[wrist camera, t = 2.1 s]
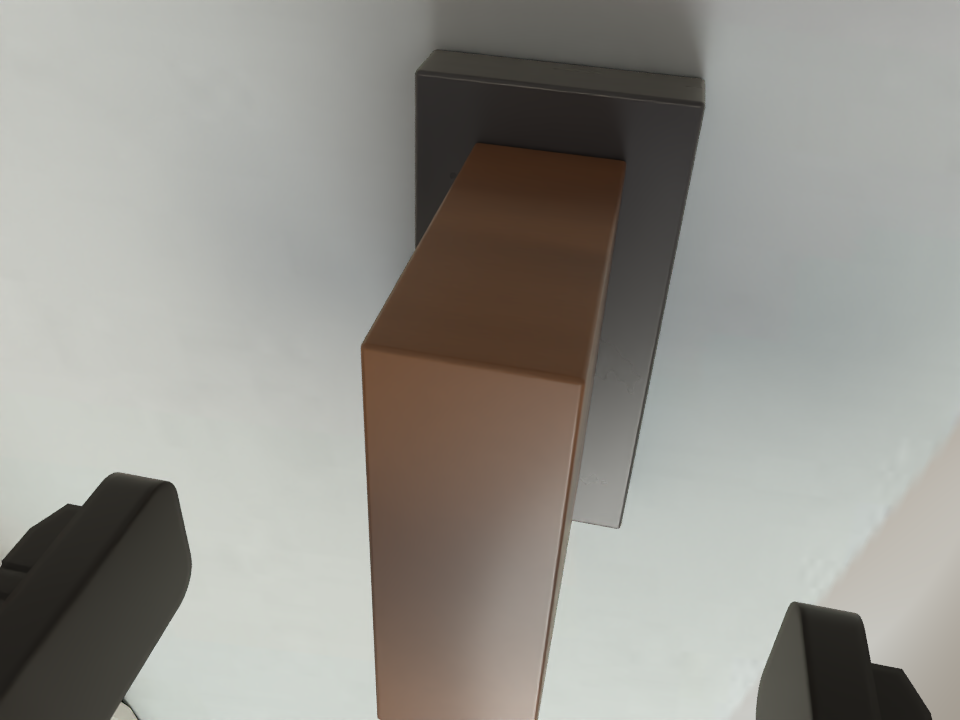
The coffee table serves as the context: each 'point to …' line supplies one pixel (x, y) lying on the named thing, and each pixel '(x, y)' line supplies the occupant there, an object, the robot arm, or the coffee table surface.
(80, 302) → the coffee table surface
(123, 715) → the mug
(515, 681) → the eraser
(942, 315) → the coffee table surface
